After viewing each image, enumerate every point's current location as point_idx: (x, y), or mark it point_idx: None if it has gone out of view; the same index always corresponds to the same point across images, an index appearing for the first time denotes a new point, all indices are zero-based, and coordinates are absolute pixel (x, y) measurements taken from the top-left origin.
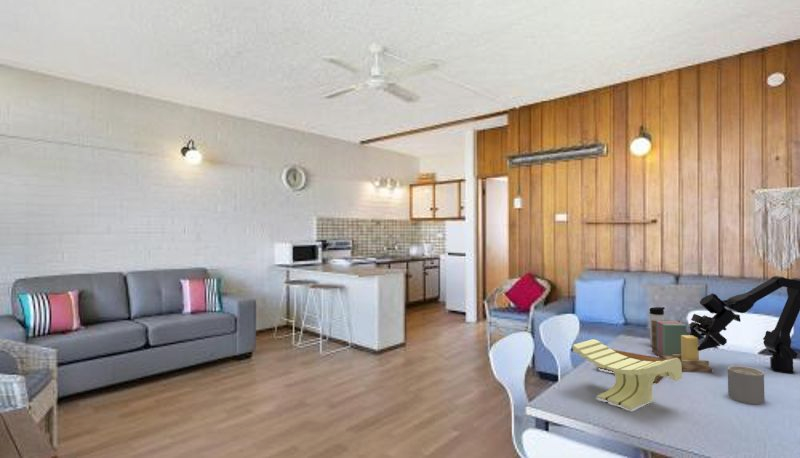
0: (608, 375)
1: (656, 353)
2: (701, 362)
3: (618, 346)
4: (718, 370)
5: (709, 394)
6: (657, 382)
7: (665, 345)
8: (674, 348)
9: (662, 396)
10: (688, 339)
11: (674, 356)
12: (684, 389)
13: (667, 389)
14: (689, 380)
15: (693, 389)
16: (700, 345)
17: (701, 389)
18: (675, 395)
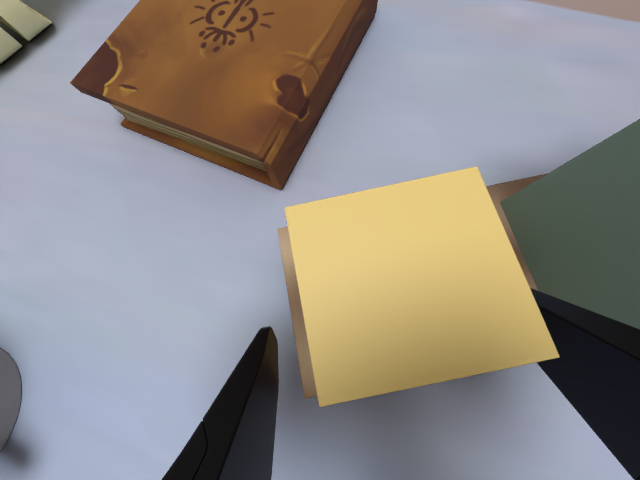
0: None
1: None
2: (296, 343)
3: (630, 41)
4: (361, 444)
5: (13, 274)
6: (125, 127)
7: (556, 170)
8: (565, 237)
9: (6, 125)
10: (290, 237)
11: None
12: (65, 200)
13: (65, 148)
14: (167, 242)
15: (65, 231)
16: (239, 370)
17: (65, 260)
18: (11, 161)
